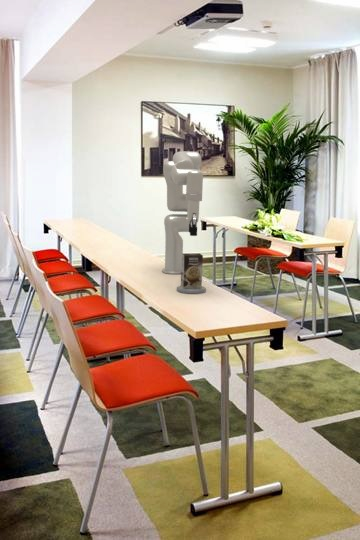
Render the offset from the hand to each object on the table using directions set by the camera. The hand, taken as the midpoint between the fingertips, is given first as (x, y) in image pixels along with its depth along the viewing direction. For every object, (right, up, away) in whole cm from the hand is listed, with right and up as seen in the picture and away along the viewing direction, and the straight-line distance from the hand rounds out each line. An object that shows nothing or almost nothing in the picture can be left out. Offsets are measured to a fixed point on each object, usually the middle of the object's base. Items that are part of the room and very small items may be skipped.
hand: (192, 234), depth 289 cm
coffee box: (-1, -25, +5) cm, 26 cm away
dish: (-1, -27, +5) cm, 27 cm away
